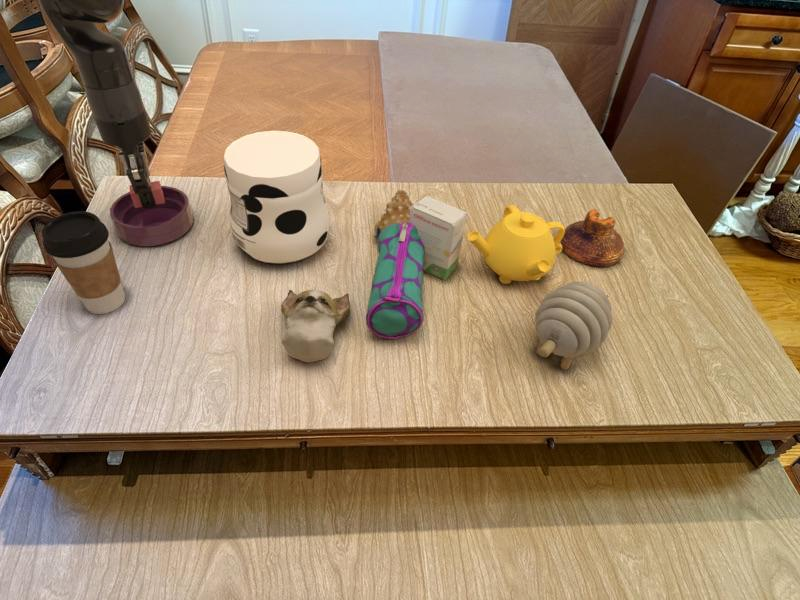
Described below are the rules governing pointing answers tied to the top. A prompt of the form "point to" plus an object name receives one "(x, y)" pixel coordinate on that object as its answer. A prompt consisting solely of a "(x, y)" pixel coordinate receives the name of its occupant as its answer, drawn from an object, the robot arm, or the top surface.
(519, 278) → the teapot
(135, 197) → the eraser
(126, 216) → the bowl
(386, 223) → the seashell
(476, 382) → the top surface
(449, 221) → the ink box
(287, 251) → the milk container
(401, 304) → the pencil case
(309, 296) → the ceramic sculpture
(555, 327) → the toy sheep
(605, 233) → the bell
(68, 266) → the coffee cup
